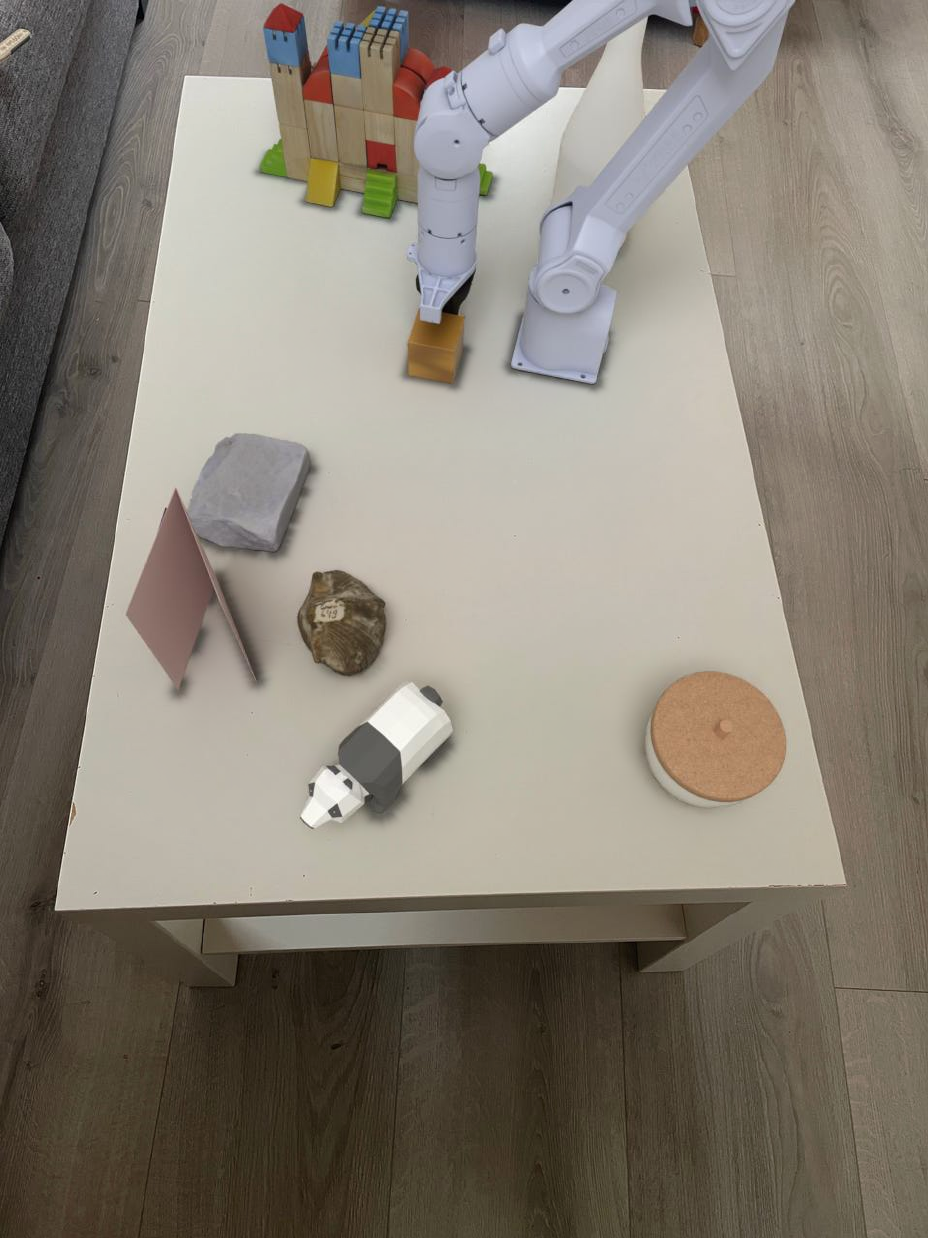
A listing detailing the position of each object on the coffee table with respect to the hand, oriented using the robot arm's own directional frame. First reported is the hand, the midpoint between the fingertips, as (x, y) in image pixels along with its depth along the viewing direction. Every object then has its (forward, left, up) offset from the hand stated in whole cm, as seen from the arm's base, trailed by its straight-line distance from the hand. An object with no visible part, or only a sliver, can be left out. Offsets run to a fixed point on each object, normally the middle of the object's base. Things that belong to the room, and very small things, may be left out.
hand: (444, 324), depth 94 cm
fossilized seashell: (+1, +38, -2) cm, 38 cm away
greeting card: (+11, +41, -2) cm, 42 cm away
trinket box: (-32, +43, -2) cm, 54 cm away
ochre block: (0, +4, -2) cm, 4 cm away
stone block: (+14, +26, -2) cm, 29 cm away
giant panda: (-6, +50, -2) cm, 50 cm away
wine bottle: (-13, -20, -2) cm, 24 cm away
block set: (+14, -24, -2) cm, 28 cm away
